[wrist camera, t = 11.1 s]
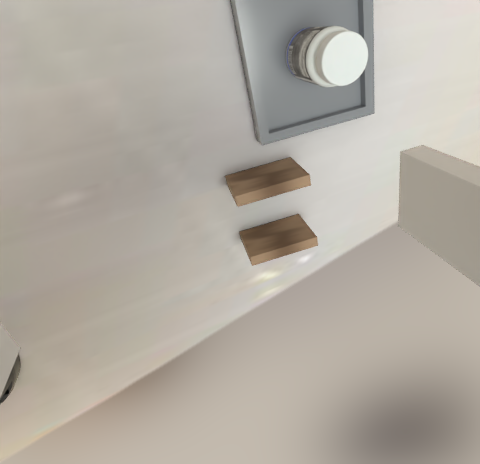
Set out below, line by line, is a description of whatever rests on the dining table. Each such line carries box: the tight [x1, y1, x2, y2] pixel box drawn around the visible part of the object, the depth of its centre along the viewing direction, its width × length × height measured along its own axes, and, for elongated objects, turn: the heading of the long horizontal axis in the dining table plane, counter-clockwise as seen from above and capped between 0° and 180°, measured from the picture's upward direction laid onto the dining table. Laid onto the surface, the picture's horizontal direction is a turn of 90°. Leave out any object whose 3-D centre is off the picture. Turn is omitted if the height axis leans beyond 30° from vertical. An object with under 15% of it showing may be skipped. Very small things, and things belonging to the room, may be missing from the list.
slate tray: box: [230, 0, 374, 145], centre depth 35 cm, size 13×15×2 cm
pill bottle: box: [286, 26, 368, 87], centre depth 32 cm, size 5×5×8 cm
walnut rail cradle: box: [225, 157, 318, 266], centre depth 41 cm, size 8×9×6 cm
